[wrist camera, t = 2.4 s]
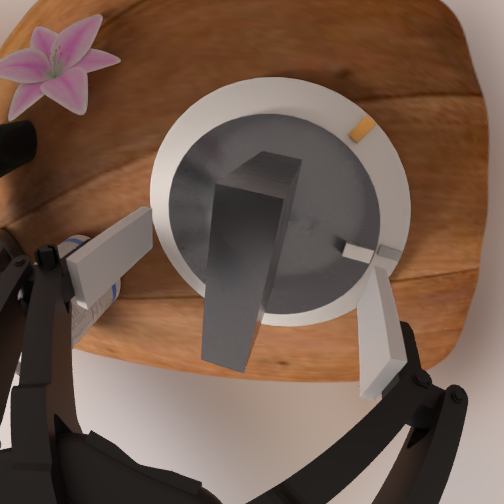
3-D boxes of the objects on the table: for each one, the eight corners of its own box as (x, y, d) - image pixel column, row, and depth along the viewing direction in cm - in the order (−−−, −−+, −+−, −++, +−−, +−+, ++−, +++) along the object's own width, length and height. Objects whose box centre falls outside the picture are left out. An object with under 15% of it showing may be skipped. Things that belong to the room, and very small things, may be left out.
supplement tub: (66, 270, 33) (-6, 335, 20) (72, 216, 28) (-24, 283, 15) (118, 312, 34) (51, 392, 21) (132, 263, 29) (40, 356, 16)
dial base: (162, 278, 28) (151, 290, 26) (172, 69, 18) (158, 67, 16) (354, 332, 26) (354, 348, 24) (434, 124, 15) (445, 126, 14)
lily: (127, 129, 23) (88, 92, 13) (29, 151, 21) (-29, 136, 12) (135, 30, 21) (114, -25, 11) (43, 57, 19) (3, 21, 10)
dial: (173, 278, 25) (117, 347, 17) (183, 100, 17) (90, 108, 9) (338, 324, 23) (334, 416, 15) (405, 148, 15) (467, 184, 7)
